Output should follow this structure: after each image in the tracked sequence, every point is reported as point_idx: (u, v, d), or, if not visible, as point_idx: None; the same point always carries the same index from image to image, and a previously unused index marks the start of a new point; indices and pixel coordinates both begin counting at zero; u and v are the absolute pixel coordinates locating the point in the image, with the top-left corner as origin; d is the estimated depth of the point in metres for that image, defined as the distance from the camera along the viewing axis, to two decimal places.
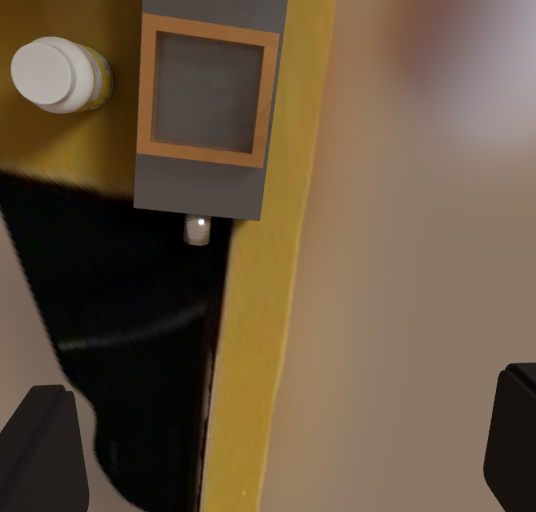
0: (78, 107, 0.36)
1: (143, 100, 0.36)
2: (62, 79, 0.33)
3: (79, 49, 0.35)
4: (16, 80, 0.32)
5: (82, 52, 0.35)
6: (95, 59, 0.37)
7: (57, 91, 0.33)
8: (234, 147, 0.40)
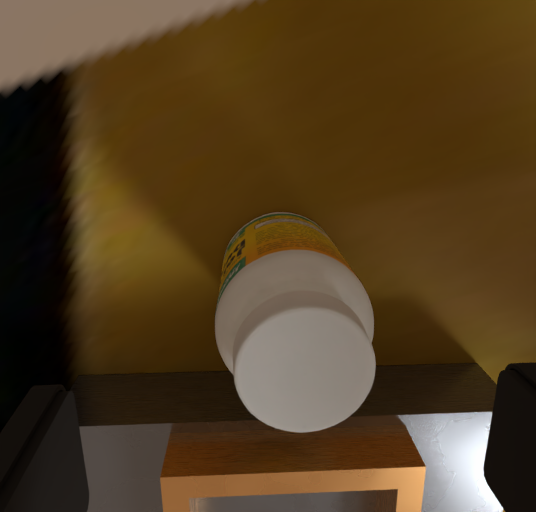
0: None
1: (268, 480, 0.18)
2: (299, 417, 0.14)
3: None
4: (283, 321, 0.13)
5: None
6: None
7: (270, 408, 0.13)
8: None
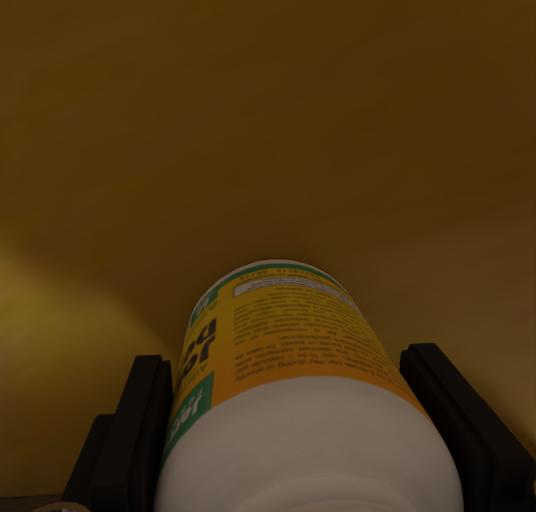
0: None
1: None
2: None
3: None
4: None
5: None
6: None
7: None
8: None
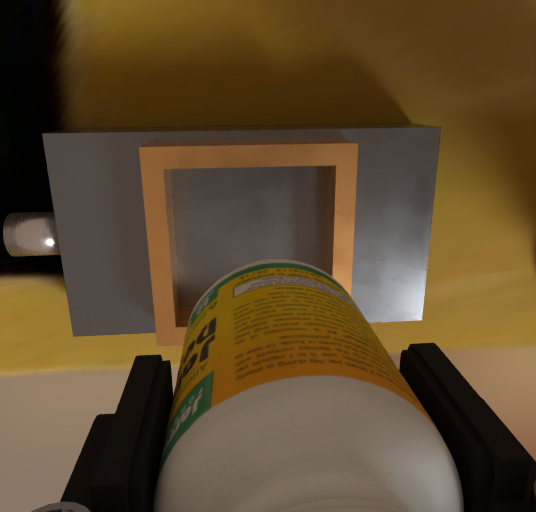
0: None
1: (228, 152, 0.22)
2: None
3: None
4: None
5: None
6: None
7: None
8: (180, 283, 0.26)
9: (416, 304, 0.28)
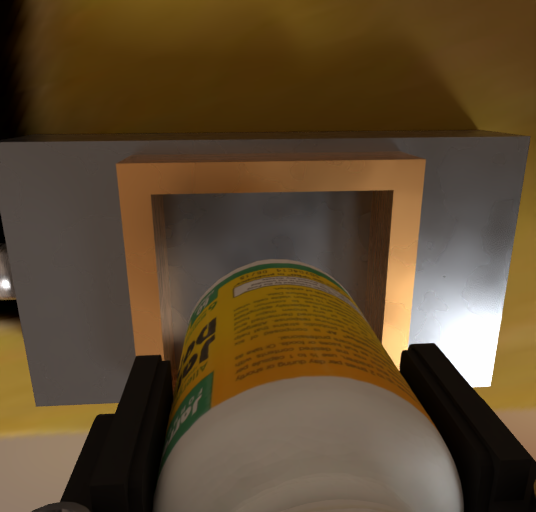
0: None
1: (243, 172, 0.15)
2: None
3: None
4: None
5: None
6: None
7: None
8: (176, 340, 0.20)
9: (484, 366, 0.21)
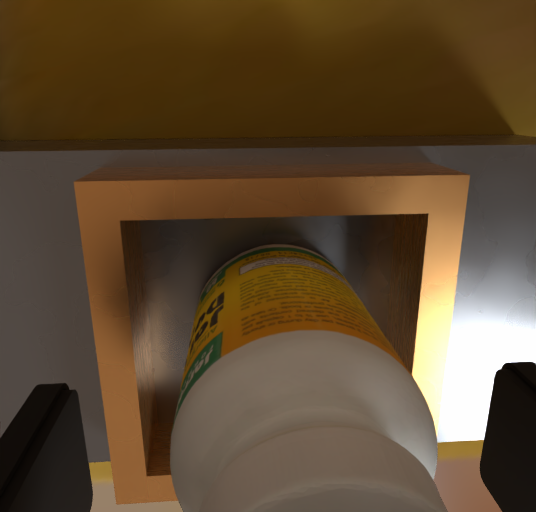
0: None
1: (238, 192, 0.12)
2: None
3: None
4: (291, 511, 0.06)
5: None
6: None
7: None
8: (158, 389, 0.16)
9: None
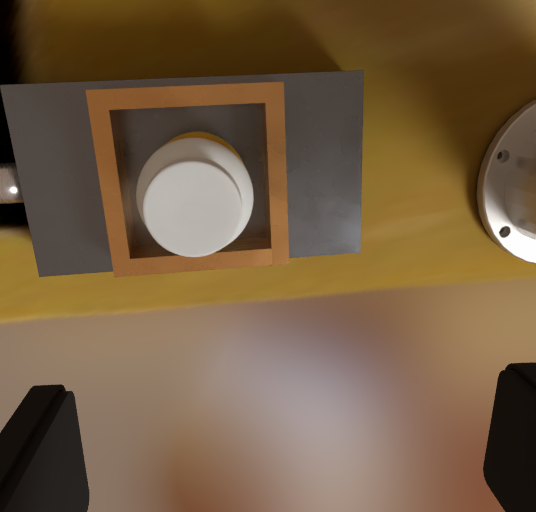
0: None
1: (167, 93, 0.24)
2: (192, 244, 0.20)
3: (242, 230, 0.23)
4: (173, 172, 0.19)
5: (238, 234, 0.23)
6: None
7: (171, 238, 0.19)
8: (135, 223, 0.29)
9: (354, 237, 0.31)
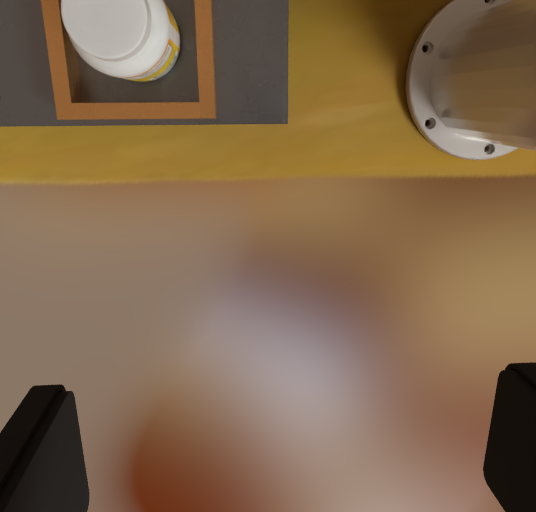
0: None
1: None
2: (104, 46, 0.23)
3: (159, 57, 0.26)
4: None
5: (156, 61, 0.26)
6: (158, 70, 0.28)
7: (85, 38, 0.23)
8: (81, 80, 0.32)
9: (281, 108, 0.34)
